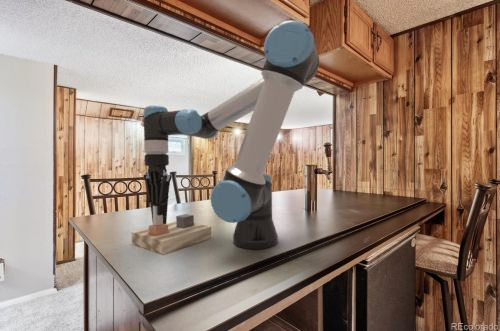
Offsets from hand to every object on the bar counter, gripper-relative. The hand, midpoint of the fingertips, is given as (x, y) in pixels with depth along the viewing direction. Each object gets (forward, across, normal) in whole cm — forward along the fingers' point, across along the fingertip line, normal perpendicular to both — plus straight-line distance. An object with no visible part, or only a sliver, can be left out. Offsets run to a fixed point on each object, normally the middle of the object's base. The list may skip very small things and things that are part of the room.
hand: (158, 224), depth 83 cm
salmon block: (+5, 0, 0) cm, 5 cm away
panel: (+7, 0, -6) cm, 9 cm away
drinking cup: (+7, +17, -12) cm, 22 cm away
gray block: (+4, 0, -11) cm, 12 cm away
